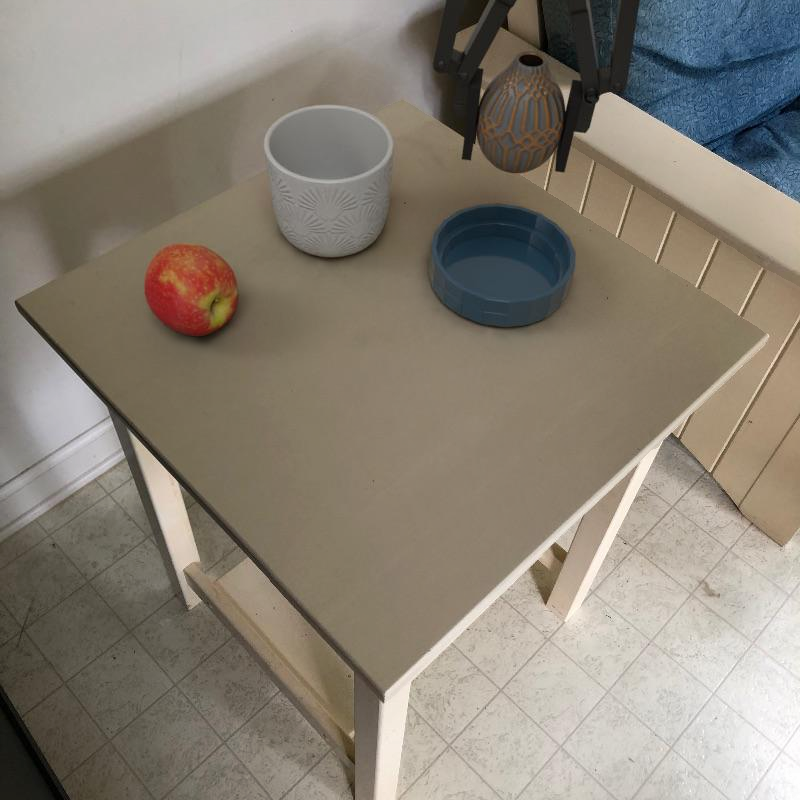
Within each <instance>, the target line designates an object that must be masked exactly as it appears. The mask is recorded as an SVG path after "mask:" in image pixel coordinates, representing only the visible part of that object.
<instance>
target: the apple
mask: <svg viewBox="0 0 800 800" xmlns="http://www.w3.org/2000/svg"><path fill="white" fill-rule="evenodd" d="M143 284H144V285H143V287H144V288H143V289H144V296H145V300H146V302H147V305H148V307H149V309H150V311H151V312H152V313H153V315H154V316H155V317H156V318H157V319H158V320H159V321H160V322H161V323H162V324H163V325H165V326H166V327H167V328H169V329H170V330H172V331H174V332H176V333H179V334H181V335H185V336H191V337H203V336H208V335H210V334H212V333H213V332H215V331H217V330H219V329H220V328H222V327H223V326H224V325H225V324H226V323H227V322H228V321H229V320H230V319H231V318H232V316H233V315H234V313H235V311H236V308H237V305H238V302H239V286H238V280H237V277H236V274H235V272H234V270H233V269H232V268H231V266H230V264H229V263H228V261H226V259H225V258H223V257H222V256H221V255H220V254H218V253H216V252H215V251H214V250H212V249H210V248H209V247H207V246H204V245H201V244H197V243H190V242H181V243H174V244H171V245H168V246H165V247H163V248H161V249H160V250H159V251H158V252H157V253H156V254H155V255H154V256H153V257H152V259H151V260H150V261H149V263H148V265H147V268H146V272H145V275H144V283H143Z"/></svg>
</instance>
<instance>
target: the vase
mask: <svg viewBox="0 0 800 800" xmlns="http://www.w3.org/2000/svg"><path fill="white" fill-rule="evenodd" d="M565 111H566V103H565V98H564V95H563V91H562V89H561V87H560V85H559V83H558V82H557V80H556V79H555V77H554V75H553V73H552V72H551V70H550V66H549V62H548V59H547V58H546V56H545V55H543V54H541V52H538V51H533V50H525V51H521V52H519V53H517V54H516V55H515V57H514V58H513V60H512V61H511V62H510V64H508V66H507V67H506V68H504V69H503V70H502V71H501V72H499V73H498V75H496V76H495V77H494V78H493V79H492V80H491V81H490V82H489V84H488V85H487V87H486V88H485V90H484V92H483V94H482V96H481V98H480V100H479V107H478V112H477V119H476V130H475V134H476V138H477V144H478V146H479V149H480V151H481V153H482V155H483V157H485V159H486V160H487V161H488V162H489V163H490V164H491V165H493V167H495V168H496V169H498V170H500V171H502V172H505V173H509V174H525V173H529V172H531V171H534V170H536V169H538V168H540V167H541V166H542V165H544V164H545V163H546V162H547V161H548V160H549V159H550V158H551V157H552V156H553V154H554V153H555V152H556V151H557V146H558V144H559V142H560V139H561V136H562V133H563V129H564V125H565Z"/></svg>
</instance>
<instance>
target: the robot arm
mask: <svg viewBox="0 0 800 800" xmlns="http://www.w3.org/2000/svg"><path fill="white" fill-rule="evenodd" d="M464 1H465V0H445V4H444V10H443V13H442V19H441V24H440V27H439V34H438V39H437V43H436V49H435V53H434V59H433V63H432V67H433V70H434V71H435V72H436V73H438V74H445V73H446V74H448V75H450V76H451V77H453V79H454V81H455V87H454V94H453V95H454V97H453V105H452V114H453V116H454V118H460V119H465V120H466V121H465V129H464V138H463V146H462V153H461V160H463V161H470V162H471V160H472V155H473V149H474V144H475V136H476V119H477V112H478V107H479V103H480V100H481V98H480V97H481V93H482V92H481V91H482V83H483V76H484V68H480V65H481V64H482V62H483V60H484V58H485V56H486V55H487V53H488V51H489V49H490V47H491V46H492V44H493V42H494V40H495V38H496V36H497V34H498V33H499V31H500V29H501V28H502V25H503V24H504V21H505V20H506V19H507V16H508V14H509V13H510V11H511V9H512V8H514V6H515V4H516V3H517V1H518V0H488V3H487V4H486V6H485V8H484V10H483V12H482V14H481V16H480V18H479V20H478V22H477V24H476V25H475V27H474V30H473V31H472V33H471V35H470V37H469V39H468V41H467V43H466V45H465V46H464V49H463V51H462V50H457V49H456V48H454V47H455V43H456V38H457V33H458V29H459V25H460V20H461V15H462V11H463V6H464ZM566 2H567V7H568V13H569V15H570V20H571V27H572V33H573V39H574V40H573V41H574V47H575V52H576V58H577V65H578V71H579V77H580V80H579V79H572V80H571V85H570V89H569V93H568V97H567V98H568V100H567V103H566V106H565V125H564V129H563V133H562V136H561V139H560V142H559V144H558V146H557V148H556V150H555V169H554V172H557V173H565V172H566V168H567V164H568V160H569V155H570V151H571V148H572V143H573V140H574V135H575V133H581V134H587V132H588V131H589V129H591V124H592V120H593V116H594V112H595V108H596V105H597V104H598V103H599V101H600V97H601V96H602V95H605V94H608V93H611V94H613V95H621V94H623V93H624V92H625V91H626V89H627V85H628V78H629V73H630V67H631V60H632V53H633V47H634V40H635V34H636V28H637V21H638V13H639V9H640V8H639V7H640V2H641V0H618V2H617V10H616V18H615V24H614V26H615V27H614V33H613V40H612V47H611V54H610V61H609V67H602V68H600V65H599V59H598V51H597V44H596V43H597V42H596V37H595V30H594V24H593V23H594V22H593V16H592V8H591V2H590V0H566Z"/></svg>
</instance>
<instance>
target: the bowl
mask: <svg viewBox="0 0 800 800" xmlns="http://www.w3.org/2000/svg"><path fill="white" fill-rule="evenodd" d="M576 255H577V254H576V250H575V248H574V245H573V242H572V241H571V238H570V236H569V235H568V234H567V233H566V232H565V230H563V228H562V227H561V226H560V225H559V224H558V223H557V222H555V221H553V220H552V219H550V218H548V217H547V216H546V215H543V214H542V213H540V212H538V211H535V210H532V209H529V208H526V207H524V206H520V205H515V204H509V203H508V204H507V203H500V202H497V203H495V202H494V203H482V204H481V203H480V204H475V205H472V206H469V207H466V208H462V209H459V210H457V211H456V212H454V213H453V214H451V215H450V216H448V217H446V218H445V219H443V220H442V222H441V223H440V225H439V226H438V227H437V229H435V231H434V232H433V237H432V241H431V245H430V255H429V266H428V275H429V276H428V277H429V280H430V284H431V288H432V290H433V291H434V292H435V294H436V295H437V297H438V298H439V299H440V300H441V302H442V303H443V304H444V305H445V306H446V307H448V308H449V309H450V310H452V311H453V312H455V313H456V314H458V315H459V316H461V317H462V318H463V317H464V318H466V319H469V320H471V321H473V322H476V323H479V324H481V325H486V326H487V325H488V326H496V327H502V328H508V327H509V328H510V327H511V328H512V327H520V326H528V325H531V324H534V323H536V322H539V321H541V320H545V319H547V318H548V317H549V316H550V315H552V314H553V313H554V312H556V311H557V310H558V309H559V308H560V307H561V306H562V304H563V302H564V301H565V298H566V297H567V295H568V293H569V290H570V288H571V287H570V286H571V283H572V280H573V276H574V272H575V269H576Z"/></svg>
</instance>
